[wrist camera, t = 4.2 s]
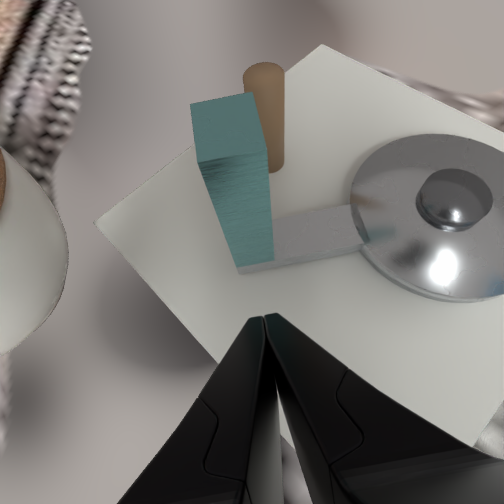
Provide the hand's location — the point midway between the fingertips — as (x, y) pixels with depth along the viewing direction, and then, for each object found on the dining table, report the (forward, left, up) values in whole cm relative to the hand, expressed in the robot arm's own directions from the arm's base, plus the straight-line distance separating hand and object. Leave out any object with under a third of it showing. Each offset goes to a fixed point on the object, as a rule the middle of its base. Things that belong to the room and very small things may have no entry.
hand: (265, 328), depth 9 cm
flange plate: (+9, 0, -7) cm, 11 cm away
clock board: (+9, +3, -8) cm, 12 cm away
